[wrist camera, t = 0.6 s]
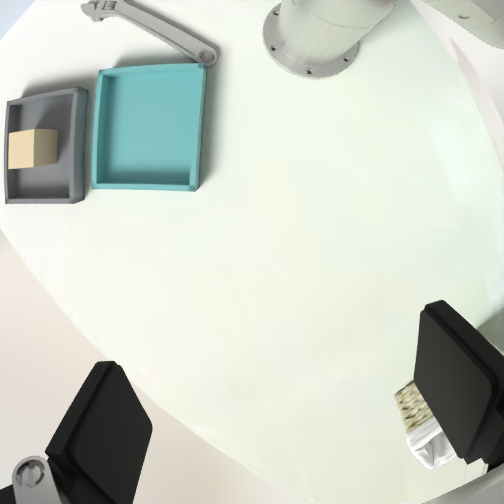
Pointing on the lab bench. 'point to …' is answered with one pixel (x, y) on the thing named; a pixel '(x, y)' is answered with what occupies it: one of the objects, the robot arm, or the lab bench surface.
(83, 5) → the adjustable wrench
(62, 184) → the charcoal bin
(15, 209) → the lab bench surface
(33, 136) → the sandstone block
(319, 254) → the lab bench surface
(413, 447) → the storage basket
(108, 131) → the teal bin
